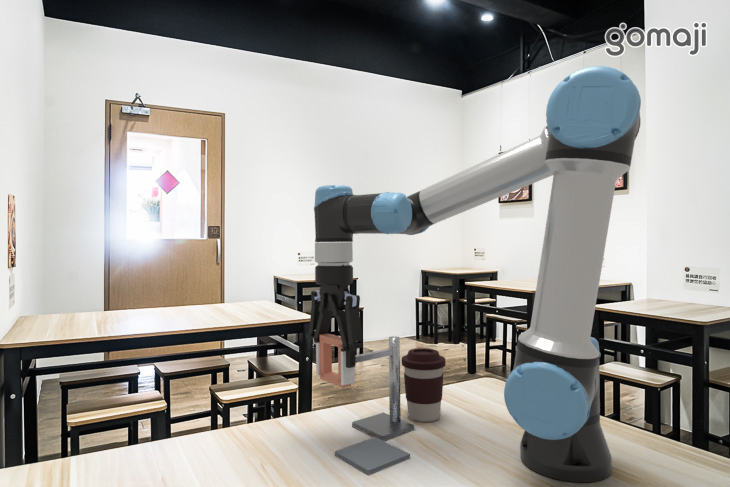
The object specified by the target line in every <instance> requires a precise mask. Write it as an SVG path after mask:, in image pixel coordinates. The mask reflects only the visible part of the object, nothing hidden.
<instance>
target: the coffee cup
mask: <svg viewBox="0 0 730 487" xmlns="http://www.w3.org/2000/svg"><path fill="white" fill-rule="evenodd" d="M401 365H402V367H404V368H403V369H404V373H403V379H404V389H405V390H404V392H405V399H406V403H407V404H406V407H407V415H408V417H409V419H410V420H413V421H416V422H419V423H429V422H434V421H437V420H438V419H440V417H441V410H442V409H441V408H442V407H441V406H442V405H441V403H442V399H443V390H444V389H443V388H444V386H443V385H444V373H443V371H444V368H445V367H446V358H445V357H444V356H442V355H441V354H440V351H438V350H437V349H433V348H427V347H417V348H411V349H409V350H408V352H407V353H406V354H405V355H403V356H402V357H401Z"/></svg>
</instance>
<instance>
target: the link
mask: <svg viewBox="0 0 730 487" xmlns="http://www.w3.org/2000/svg"><path fill="white" fill-rule="evenodd" d="M348 344H349V342H348ZM332 346H334V347H337V349H338V350H337V352H338V353H337V359H338V360H337V362H338V364H337V371H338V373H337V372H334V371H332V370H333V363H332V362H333V359H332V355H333V353H332V352H333V350H332V348H333V347H332ZM342 348H343V344H342V340H341V336H339V335H334V334H331V333H329V332H328V333H327V334H321V335H320V375H319V379H320V380H322V381H324V382H326V383H329V384H331V385H334V386H337V387H339V388H342V389H343V388H349V387H352V384H348V385H341V349H342Z"/></svg>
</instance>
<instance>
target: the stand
mask: <svg viewBox="0 0 730 487" xmlns="http://www.w3.org/2000/svg"><path fill="white" fill-rule="evenodd" d="M400 339H401V338H400V336H396V335H395V336H394V335H393V336H392V335H391V336H389V337H388V348H386V349H380V350H375V351H371V352H365V353H360V354H355V356H356V361H355V362H356V364H357V363H361V362H362V363H363V362H367V361H372V360H376V359H381V358H386V357H388V384H389V385H388V386H389V388H388V393H389V394H388V396H389V397H388V398H389V400H388V401H389V403H388V404H389V409H388V410H389V414H388V413H386V412H380V413H376V414H374V415H370V416H368V417H363V418H361V419H358V420H355V421H352V422H351V427H352V428H355V429H356V430H358V431H361V432H362V433H364V434H367V435H369V436H370V437H372V438H374V437H376V438H378V439H380V440H383V441H385V442H386V440H387V441H388V440H390V439H393V438H395V437H399V436H401V435H404V434H407V433H410V432H412V431H415V424H413V423H410V422H407V421H406V420H403V419H401V353H400V352H401V351H400V349H401V343H400V342H401V340H400Z"/></svg>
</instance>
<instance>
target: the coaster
mask: <svg viewBox="0 0 730 487" xmlns="http://www.w3.org/2000/svg"><path fill="white" fill-rule="evenodd" d="M334 457H337V458H339V459H340V460H342V461H344V462H345V463H347V464H348V465H351V466H352V467H353V468H356V469H357V470H358V471H361V472H363V474H365V475H367V476H370V475H373V474H375V473H378V472H379V471H382V470H384V469H387V468H390V467H392V466H395V465H397V464H399V463H402V462H405V461H406V460H409V459H411V453H410V452H407V451H406V450H404V449H401V448H399V447H397V446H395V445H393V444H391V443H389V442H386V440H385V441H383V440H380V439H378V438H376V437H372V438H368V439H366V440H365V439H364V440H363V441H361V442H357V443H354V444H351V445H348V446H346V447H342V448H340V449H337V450H334Z"/></svg>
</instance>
